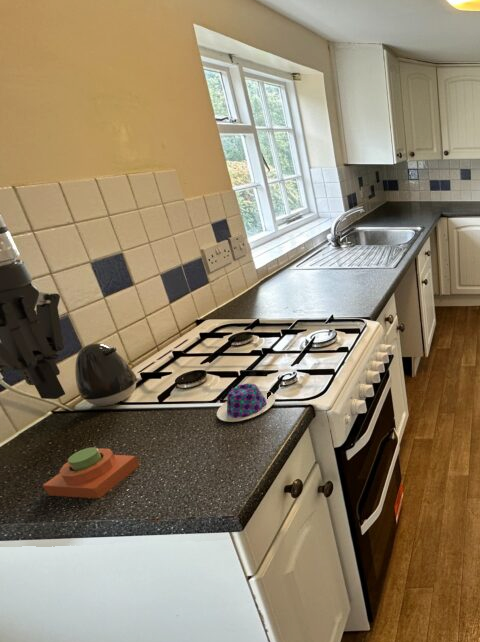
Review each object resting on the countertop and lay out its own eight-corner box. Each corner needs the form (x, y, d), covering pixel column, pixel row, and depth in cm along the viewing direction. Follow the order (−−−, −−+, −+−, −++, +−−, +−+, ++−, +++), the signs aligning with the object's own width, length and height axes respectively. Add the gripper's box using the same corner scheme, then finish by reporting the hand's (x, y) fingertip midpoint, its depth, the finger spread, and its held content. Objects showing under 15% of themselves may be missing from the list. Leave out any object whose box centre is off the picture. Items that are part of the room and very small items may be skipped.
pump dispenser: (117, 412, 96) (91, 355, 90) (74, 411, 96) (45, 355, 90) (153, 387, 106) (132, 334, 100) (113, 387, 106) (90, 334, 100)
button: (65, 470, 74) (61, 462, 73) (88, 455, 78) (84, 446, 77) (86, 472, 74) (81, 463, 73) (108, 456, 78) (104, 447, 77)
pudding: (286, 403, 99) (281, 385, 97) (233, 431, 90) (226, 411, 88) (260, 388, 105) (255, 370, 103) (207, 412, 96) (201, 393, 94)
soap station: (48, 495, 74) (37, 476, 72) (92, 462, 81) (83, 445, 80) (99, 498, 73) (89, 479, 72) (140, 465, 81) (131, 447, 79)
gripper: (-51, 278, 55) (29, 421, 64) (55, 252, 67) (111, 376, 76) (-102, 277, 55) (-14, 419, 64) (13, 252, 67) (73, 374, 76)
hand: (53, 396), depth 70 cm, fingers closed
